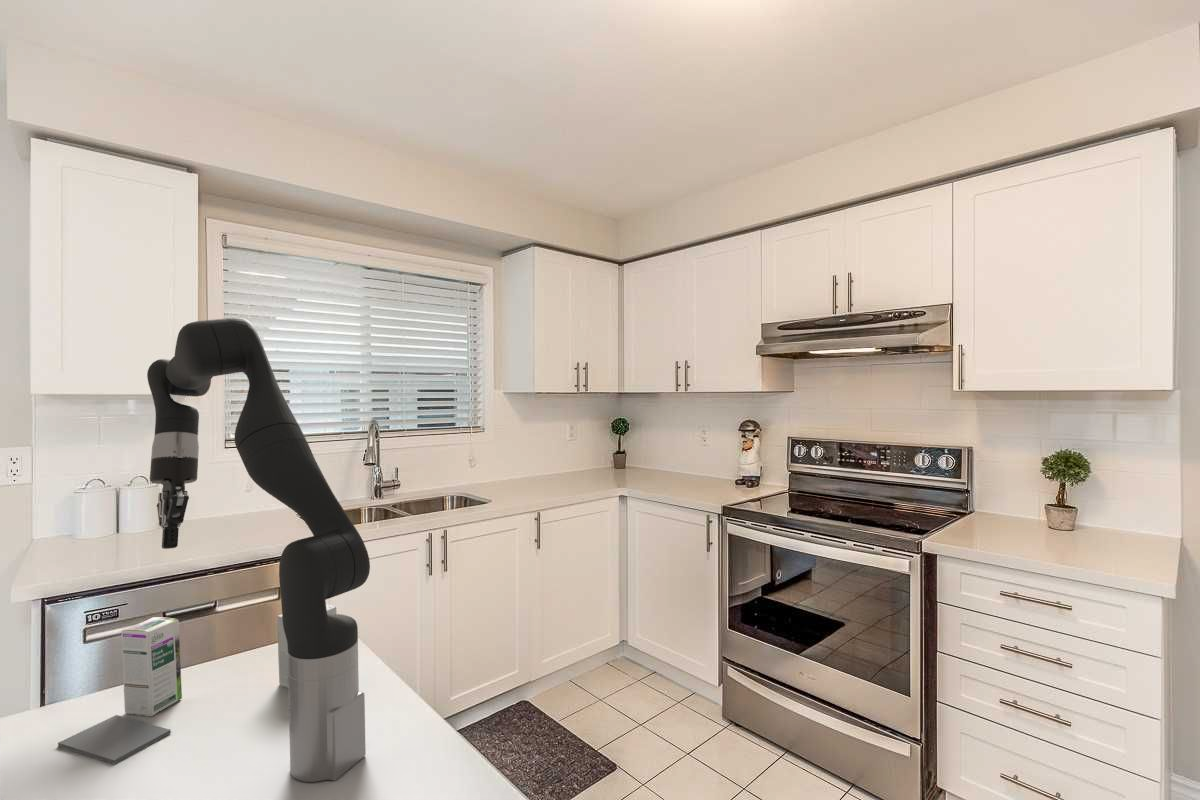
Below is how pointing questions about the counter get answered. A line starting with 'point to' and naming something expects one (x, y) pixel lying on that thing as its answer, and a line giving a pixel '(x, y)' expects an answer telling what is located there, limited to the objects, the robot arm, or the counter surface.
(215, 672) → the counter surface
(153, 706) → the syrup box
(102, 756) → the slate trivet
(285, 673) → the small box
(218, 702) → the counter surface
